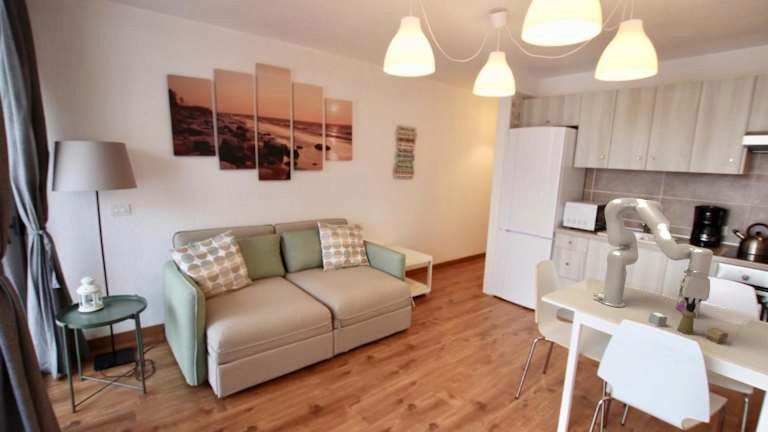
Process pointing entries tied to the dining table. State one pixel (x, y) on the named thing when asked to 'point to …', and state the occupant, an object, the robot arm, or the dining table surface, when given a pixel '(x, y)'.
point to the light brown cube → (717, 336)
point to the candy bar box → (682, 305)
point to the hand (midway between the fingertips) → (689, 310)
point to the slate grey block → (657, 319)
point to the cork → (687, 322)
